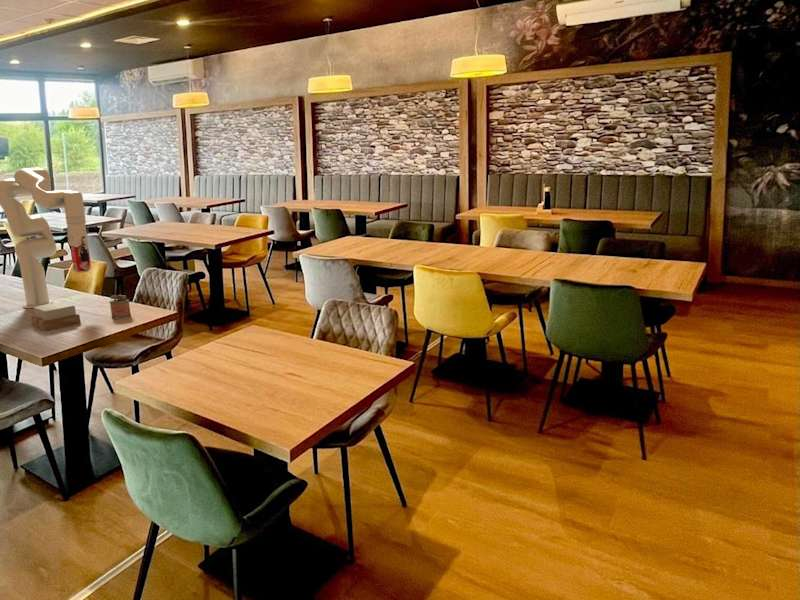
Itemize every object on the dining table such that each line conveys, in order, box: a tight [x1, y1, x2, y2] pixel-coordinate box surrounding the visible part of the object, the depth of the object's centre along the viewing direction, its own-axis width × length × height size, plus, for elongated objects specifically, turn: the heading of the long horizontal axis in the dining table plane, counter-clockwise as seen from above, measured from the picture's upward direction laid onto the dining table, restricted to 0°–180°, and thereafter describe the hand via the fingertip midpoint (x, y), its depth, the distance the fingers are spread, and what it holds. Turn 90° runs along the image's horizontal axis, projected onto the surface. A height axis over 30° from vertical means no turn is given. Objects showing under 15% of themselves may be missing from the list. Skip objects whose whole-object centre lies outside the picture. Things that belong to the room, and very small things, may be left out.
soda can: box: [70, 245, 92, 274], centre depth 280 cm, size 7×7×12 cm
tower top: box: [32, 301, 76, 321], centre depth 270 cm, size 12×12×4 cm
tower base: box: [31, 313, 81, 332], centre depth 271 cm, size 14×14×4 cm
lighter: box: [109, 294, 132, 319], centre depth 280 cm, size 8×3×10 cm, turn 104°
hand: (81, 260), depth 280 cm, fingers closed on soda can, 7 cm apart
